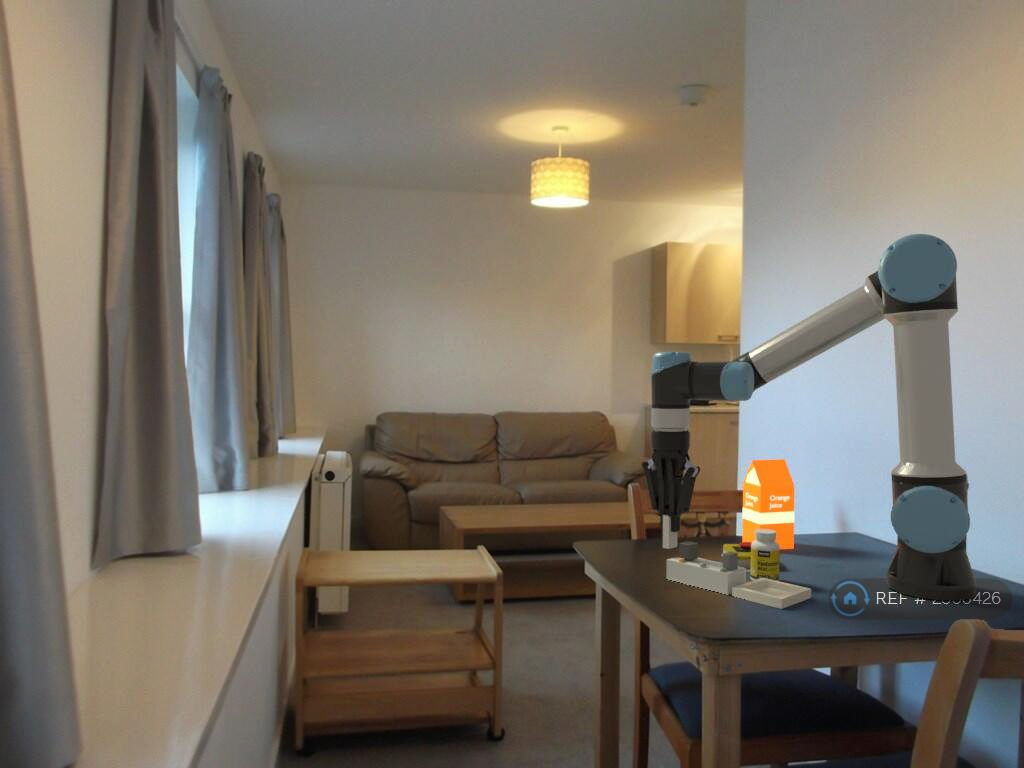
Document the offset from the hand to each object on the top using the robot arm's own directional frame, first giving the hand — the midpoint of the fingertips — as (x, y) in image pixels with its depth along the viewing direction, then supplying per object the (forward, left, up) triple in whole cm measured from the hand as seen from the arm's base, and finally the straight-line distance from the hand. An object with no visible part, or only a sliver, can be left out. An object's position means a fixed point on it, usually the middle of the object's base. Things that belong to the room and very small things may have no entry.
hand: (669, 547), depth 168 cm
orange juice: (+1, -38, -6) cm, 38 cm away
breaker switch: (-5, 0, -2) cm, 5 cm away
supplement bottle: (-15, -11, -6) cm, 19 cm away
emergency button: (-5, -21, -6) cm, 22 cm away
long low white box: (-9, 0, -6) cm, 10 cm away
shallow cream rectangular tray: (-22, -2, -6) cm, 22 cm away
